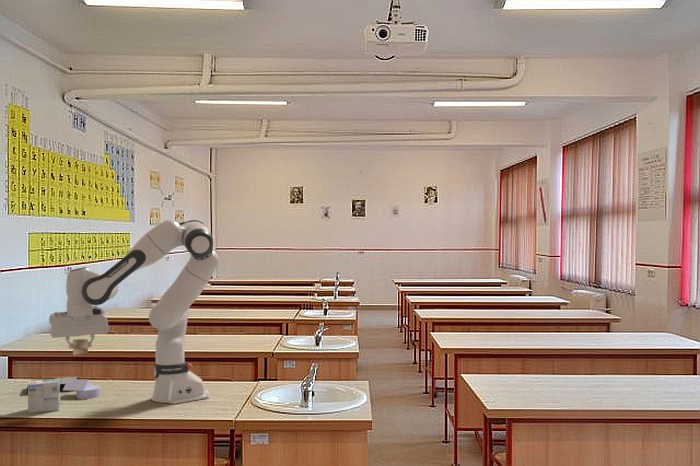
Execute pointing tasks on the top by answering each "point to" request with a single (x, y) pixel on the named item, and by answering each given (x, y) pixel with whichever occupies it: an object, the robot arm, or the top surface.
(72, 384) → the wedge on round base
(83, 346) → the ash cube
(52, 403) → the light bulb box
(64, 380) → the multimeter
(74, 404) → the top surface
